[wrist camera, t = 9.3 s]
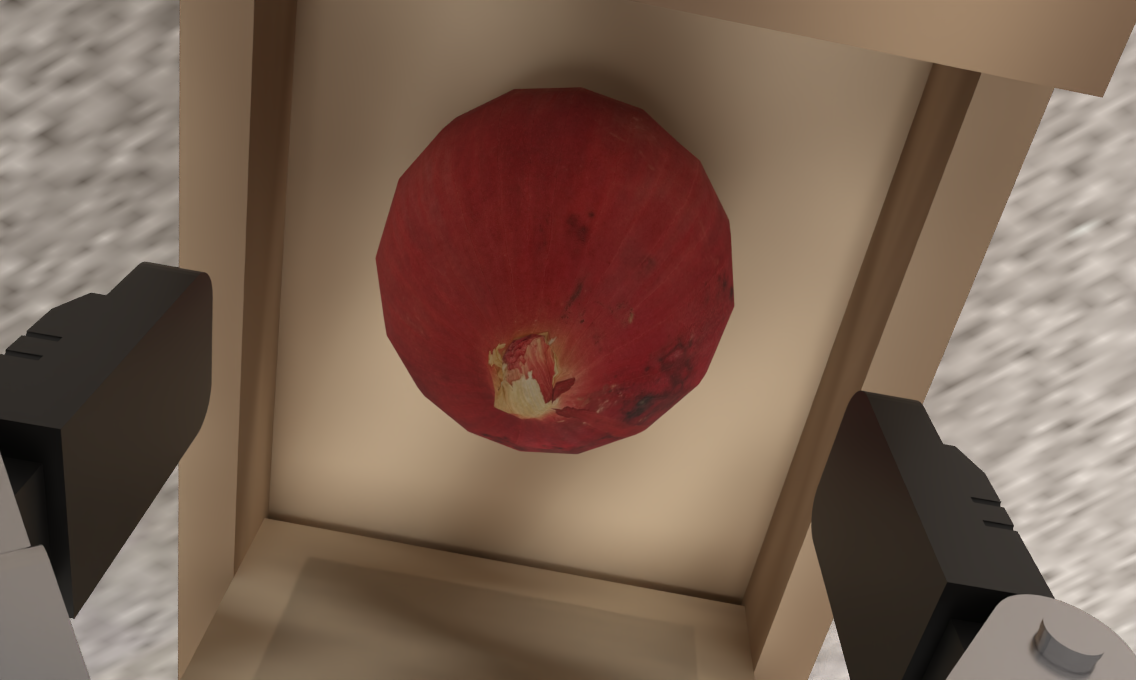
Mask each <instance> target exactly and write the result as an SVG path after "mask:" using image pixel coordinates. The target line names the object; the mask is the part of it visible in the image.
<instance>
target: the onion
mask: <svg viewBox="0 0 1136 680" xmlns="http://www.w3.org/2000/svg"><path fill="white" fill-rule="evenodd" d="M375 259H376V266H377V273H378V280H379V288H380V295H381V302H382V309H383V316H384V323H385V329H386V335H387V337H388V339H389V340H390V342H391V344H392V345H393V347H394V349H395V350H396V352H397V354H398V355H399V357H400V359H401V360H402V362H403V364H404V365H405V367H406V369H407V371H408V372H409V374H410V376H411V377H412V379H413V381H414V382H415V384H416V386H417V387H418V389H419V390H420V391H421V393H422V394H423V395H424V396H425V397H426V398H427V399H428V400H430V401H431V402H432V403H433V404H435V405H436V406H437V407H438V408H440V409H441V410H442V411H443V412H445V413H446V414H447V415H448V416H449V417H451V418H452V419H453V420H454V421H456V422H457V423H458V424H459V425H461V426H462V427H463V428H464V429H466V430H467V431H468V432H470V433H473V434H476V435H478V436H481V437H483V438H486V439H489V440H491V441H494V442H497V443H499V444H502V445H504V446H507V447H510V448H512V449H515V450H518V451H522V452H541V453H561V454H580V453H583V452H586V451H589V450H592V449H595V448H598V447H601V446H604V445H607V444H610V443H613V442H615V441H618V440H621V439H624V438H627V437H630V436H633V435H636V434H638V433H640V432H642V431H644V430H646V429H647V428H648V427H650V426H651V425H652V424H653V423H654V422H655V421H657V420H658V419H659V418H660V417H661V416H663V415H664V414H665V413H666V412H667V411H668V410H670V409H671V408H672V407H673V406H674V405H675V404H677V403H678V402H679V401H680V400H681V399H683V398H684V397H685V396H686V395H687V394H688V393H690V392H691V391H692V390H693V389H694V388H695V387H697V386H698V385H699V384H700V382H701V381H702V379H703V377H704V376H705V374H706V373H707V371H708V368H709V366H710V363H711V361H712V359H713V356H714V354H715V352H716V349H717V347H718V344H719V342H720V340H721V337H722V335H723V332H724V330H725V328H726V325H727V323H728V320H729V318H730V316H731V313H732V311H733V308H734V285H733V266H732V246H731V232H730V222H729V219H728V217H727V215H726V213H725V210H724V208H723V206H722V204H721V202H720V200H719V198H718V196H717V194H716V192H715V190H714V188H713V186H712V184H711V182H710V180H709V178H708V176H707V174H706V172H705V170H704V168H703V166H702V163H701V161H700V160H699V159H698V158H696V157H695V156H694V155H693V154H692V153H690V152H689V151H688V150H687V149H686V148H685V147H683V146H682V145H681V144H680V143H679V142H678V141H677V140H676V139H675V138H673V137H672V136H671V135H670V134H669V133H668V132H667V131H666V130H665V129H664V128H663V127H662V126H661V125H659V124H658V123H657V122H656V121H655V120H654V119H653V118H652V117H651V116H650V115H649V114H648V113H646V112H645V111H644V110H643V109H641V108H638V107H635V106H632V105H630V104H627V103H624V102H621V101H618V100H616V99H613V98H610V97H607V96H604V95H602V94H599V93H596V92H593V91H590V90H588V89H585V88H582V87H571V88H533V89H513V90H511V91H509V92H507V93H505V94H503V95H501V96H499V97H497V98H495V99H493V100H491V101H489V102H487V103H485V104H482V105H480V106H478V107H476V108H474V109H472V110H470V111H468V112H466V113H464V114H462V115H460V116H458V117H456V118H455V119H453V120H452V121H451V122H450V123H449V124H448V125H446V126H445V127H444V128H443V129H442V130H441V131H440V132H439V133H438V134H437V136H436V137H435V138H434V139H433V140H432V141H431V143H430V144H429V145H428V146H427V147H426V148H425V149H424V151H423V152H422V153H421V154H420V155H419V156H418V157H417V159H416V160H415V161H414V162H413V163H412V164H411V165H410V167H409V168H408V169H407V170H406V171H405V172H404V173H403V175H402V176H401V177H400V178H399V180H398V183H397V187H396V190H395V193H394V197H393V200H392V203H391V207H390V210H389V213H388V217H387V220H386V223H385V227H384V230H383V234H382V237H381V240H380V244H379V247H378V251H377V254H376V258H375Z"/></svg>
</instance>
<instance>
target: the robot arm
mask: <svg viewBox="0 0 1136 680" xmlns="http://www.w3.org/2000/svg"><path fill="white" fill-rule="evenodd" d="M212 319H213V289H212V282H211V279H210V276H209V275H208V274H207V273H206V272H200V271H195V270H189V269H184V268H178V267H172V266H167V265H161V264H155V263H150V262H142V263H140V264H139V265H138V266H137V267H136V268H135V269H134V270H133V271H131V272H130V273H129V274H128V275H127V276H126V277H125V278H124V279H123V280H122V281H121V282H120V283H119V284H118V285H117V286H116V287H115V288H114V289H113V290H112V291H111V292H109V293H108V294H107V295H101V294H95V293H89V294H87V295H84V296H82V297H79V298H77V299H74V300H72V301H70V302H67V303H65V304H62V305H60V306H57V307H55V308H53V309H51V310H50V311H49V312H48V313H46V314H45V315H44V316H43V317H42V318H41V319H40V320H39V321H37V322H36V323H35V324H34V325H33V326H32V327H31V328H30V329H28V330H27V334H26V336H21V337H19V338H18V339H17V340H16V341H15V342H14V343H13V344H12V345H10V346H9V347H8V348H7V349H6V353H5V355H3V354H0V680H90V677H89V674H88V671H87V668H86V665H85V662H84V659H83V656H82V653H81V650H80V648H79V645H78V642H77V639H76V636H75V633H74V630H73V627H72V624H71V621H70V618H73V619H75V617H76V616H77V614H78V613H79V611H80V610H81V608H82V607H83V605H84V604H85V602H86V601H87V599H88V598H89V596H90V595H91V593H92V592H93V590H94V589H95V587H96V586H97V584H98V583H99V581H100V580H101V578H102V577H103V575H104V574H105V572H106V571H107V569H108V568H109V566H110V565H111V563H112V562H113V560H114V559H115V557H116V556H117V554H118V553H119V551H120V550H121V548H122V547H123V545H124V544H125V542H126V541H127V539H128V538H129V536H130V535H131V533H132V532H133V530H134V529H135V527H136V526H137V524H138V523H139V521H140V520H141V518H142V517H143V515H144V514H145V512H146V511H147V509H148V508H149V506H150V505H151V503H152V502H153V500H154V499H155V497H156V496H157V494H158V493H159V491H160V490H161V488H162V487H163V485H164V484H165V482H166V481H167V479H168V478H169V476H170V475H171V473H172V472H173V470H174V469H175V467H176V466H177V464H178V463H179V461H180V460H181V458H182V457H183V455H184V454H185V452H186V451H187V449H188V448H189V446H190V445H191V443H192V442H193V440H194V439H195V437H196V436H197V434H198V433H199V431H200V429H201V427H202V424H203V422H204V419H205V416H206V413H207V409H208V405H209V401H210V395H211V385H212ZM1000 503H1001V501H1000V499H999V498H998V496H997V494H996V492H995V490H994V489H993V487H992V485H991V483H990V482H989V480H988V478H987V476H986V474H985V473H984V472H983V471H982V470H981V469H979V468H978V467H977V466H976V465H975V464H974V463H973V462H972V461H971V460H970V459H969V458H967V457H966V456H965V455H964V454H963V453H962V452H961V451H960V450H959V449H958V448H956V447H955V446H951V445H945V444H943V443H942V441H941V439H940V437H939V435H938V433H937V431H936V429H935V427H934V426H933V424H932V422H931V420H930V418H929V416H928V414H927V412H926V410H925V408H924V406H923V405H922V403H921V402H919V401H917V400H912V399H907V398H901V397H895V396H890V395H884V394H879V393H873V392H867V391H862V390H860V391H857V392H856V393H855V394H854V395H853V396H852V398H851V399H850V401H849V403H848V405H847V408H846V410H845V413H844V416H843V419H842V421H841V424H840V427H839V430H838V432H837V435H836V438H835V441H834V443H833V446H832V449H831V451H830V454H829V457H828V460H827V462H826V465H825V468H824V471H823V473H822V476H821V479H820V482H819V484H818V487H817V490H816V493H815V497H814V502H813V508H812V517H811V532H812V539H813V544H814V547H815V551H816V555H817V558H818V562H819V566H820V569H821V573H822V577H823V580H824V584H825V588H826V592H827V595H828V599H829V603H830V606H831V610H832V614H833V617H834V621H835V625H836V629H837V632H838V636H839V640H840V643H841V647H842V651H843V654H844V658H845V662H846V665H847V669H848V673H849V677H850V680H1136V655H1135V654H1134V653H1133V651H1132V650H1131V649H1130V647H1129V646H1128V645H1127V644H1126V643H1125V642H1124V641H1123V640H1122V639H1121V638H1120V637H1119V636H1118V635H1117V634H1116V633H1115V632H1114V631H1113V630H1111V629H1110V628H1109V627H1108V626H1106V625H1105V624H1104V623H1102V622H1101V621H1099V620H1098V619H1096V618H1095V617H1093V616H1091V615H1090V614H1088V613H1086V612H1085V611H1083V610H1081V609H1079V608H1076V607H1074V606H1072V605H1070V604H1067V603H1065V602H1062V601H1059V600H1056V599H1055V598H1054V596H1053V595H1052V593H1051V591H1050V589H1049V587H1048V586H1047V584H1046V582H1045V580H1044V578H1043V577H1042V575H1041V573H1040V571H1039V569H1038V568H1037V566H1036V564H1035V562H1034V560H1033V559H1032V557H1031V555H1030V553H1029V551H1028V550H1027V548H1026V546H1025V544H1024V543H1023V541H1022V539H1021V537H1020V535H1019V534H1018V532H1017V531H1013V527H1014V525H1013V523H1012V521H1011V519H1010V517H1009V516H1008V514H1007V512H1006V510H1005V508H1003V507H1000Z"/></svg>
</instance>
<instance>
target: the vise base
mask: <svg viewBox="0 0 1136 680" xmlns="http://www.w3.org/2000/svg"><path fill="white" fill-rule="evenodd" d="M1135 23H1136V0H180V97H179V268H184V269H189V270H195V271H200V272H206V273H207V274H208V275H209V276H210V279H211V282H212V289H213V319H212V385H211V395H210V401H209V405H208V409H207V413H206V416H205V419H204V422H203V424H202V427H201V429H200V431H199V433H198V434H197V436H196V437H195V439H194V440H193V442H192V443H191V445H190V446H189V448H188V449H187V451H186V452H185V454H184V455H183V457H182V458H181V460H180V461H179V517H178V680H181V678H182V676H183V674H184V672H185V670H186V668H187V666H188V664H189V662H190V661H191V659H192V657H193V655H194V653H195V651H196V649H197V647H198V645H199V643H200V641H201V639H202V638H203V636H204V634H205V632H206V630H207V628H208V626H209V624H210V622H211V620H212V618H213V616H214V614H215V613H216V611H217V609H218V607H219V605H220V603H221V601H222V599H223V597H224V595H225V593H226V591H227V589H228V588H229V586H230V584H231V582H232V580H233V578H234V576H235V574H236V572H237V570H238V568H239V566H240V564H241V563H242V561H243V559H244V557H245V555H246V553H247V551H248V549H249V547H250V545H251V543H252V541H253V539H254V538H255V536H256V534H257V532H258V530H259V528H260V526H261V524H262V522H263V520H264V518H267V519H272V520H278V521H283V522H289V523H294V524H300V525H305V526H311V527H316V528H321V529H327V530H332V531H338V532H343V533H349V534H354V535H360V536H365V537H370V538H376V539H381V540H387V541H392V542H398V543H403V544H409V545H414V546H419V547H425V548H430V549H436V550H441V551H447V552H452V553H457V554H463V555H468V556H474V557H479V558H485V559H490V560H496V561H501V562H506V563H512V564H517V565H523V566H528V567H534V568H539V569H545V570H550V571H555V572H561V573H566V574H572V575H577V576H583V577H588V578H594V579H599V580H604V581H610V582H615V583H621V584H626V585H632V586H637V587H643V588H648V589H653V590H659V591H664V592H670V593H675V594H681V595H686V596H692V597H697V598H702V599H708V600H713V601H719V602H724V603H730V604H735V605H741V606H745V612H746V620H747V627H748V634H749V641H750V648H751V656H752V663H753V670H754V677H755V680H808V678H809V675H810V673H811V671H812V668H813V666H814V663H815V661H816V659H817V656H818V654H819V651H820V649H821V647H822V644H823V642H824V639H825V637H826V635H827V632H828V630H829V627H830V625H831V623H832V620H833V618H834V617H833V614H832V610H831V606H830V603H829V599H828V595H827V592H826V588H825V584H824V580H823V577H822V573H821V569H820V566H819V562H818V558H817V555H816V551H815V547H814V544H813V539H812V532H811V517H812V508H813V502H814V497H815V493H816V490H817V487H818V484H819V482H820V479H821V476H822V473H823V471H824V468H825V465H826V462H827V460H828V457H829V454H830V451H831V449H832V446H833V443H834V441H835V438H836V435H837V432H838V430H839V427H840V424H841V421H842V419H843V416H844V413H845V410H846V408H847V405H848V403H849V401H850V399H851V398H852V396H853V395H854V394H855V393H856V392H857V391H860V390H862V391H867V392H873V393H879V394H884V395H890V396H895V397H901V398H907V399H912V400H917V401H919V402H921V403H922V404H923V402H924V400H925V397H926V395H927V392H928V390H929V388H930V385H931V383H932V380H933V378H934V376H935V373H936V371H937V368H938V366H939V364H940V361H941V359H942V356H943V354H944V352H945V349H946V347H947V344H948V342H949V340H950V337H951V335H952V332H953V330H954V328H955V325H956V323H957V320H958V318H959V316H960V313H961V311H962V308H963V306H964V304H965V301H966V299H967V296H968V294H969V292H970V289H971V287H972V284H973V282H974V280H975V277H976V275H977V272H978V270H979V268H980V265H981V263H982V260H983V258H984V256H985V253H986V251H987V248H988V246H989V244H990V241H991V239H992V236H993V234H994V232H995V229H996V227H997V224H998V222H999V220H1000V217H1001V215H1002V212H1003V210H1004V208H1005V205H1006V203H1007V200H1008V198H1009V196H1010V193H1011V191H1012V188H1013V186H1014V184H1015V181H1016V179H1017V176H1018V174H1019V172H1020V169H1021V167H1022V164H1023V162H1024V160H1025V157H1026V155H1027V152H1028V150H1029V148H1030V145H1031V143H1032V141H1033V138H1034V136H1035V133H1036V131H1037V129H1038V126H1039V124H1040V121H1041V119H1042V117H1043V114H1044V112H1045V109H1046V107H1047V105H1048V102H1049V100H1050V97H1051V95H1052V93H1053V90H1054V88H1059V89H1064V90H1069V91H1074V92H1078V93H1083V94H1088V95H1093V96H1098V97H1103V95H1104V93H1105V91H1106V89H1107V86H1108V84H1109V82H1110V80H1111V77H1112V75H1113V73H1114V70H1115V68H1116V66H1117V64H1118V61H1119V59H1120V57H1121V55H1122V52H1123V50H1124V48H1125V46H1126V43H1127V41H1128V39H1129V37H1130V34H1131V32H1132V30H1133V27H1134V25H1135ZM571 87H582V88H585V89H588V90H590V91H593V92H596V93H599V94H602V95H604V96H607V97H610V98H613V99H616V100H618V101H621V102H624V103H627V104H630V105H632V106H635V107H638V108H641V109H643V110H644V111H645V112H646V113H648V114H649V115H650V116H651V117H652V118H653V119H654V120H655V121H656V122H657V123H658V124H659V125H661V126H662V127H663V128H664V129H665V130H666V131H667V132H668V133H669V134H670V135H671V136H672V137H673V138H675V139H676V140H677V141H678V142H679V143H680V144H681V145H682V146H683V147H685V148H686V149H687V150H688V151H689V152H690V153H692V154H693V155H694V156H695V157H696V158H698V159H699V160H700V161H701V163H702V166H703V168H704V170H705V172H706V174H707V176H708V178H709V180H710V182H711V184H712V186H713V188H714V190H715V192H716V194H717V196H718V198H719V200H720V202H721V204H722V206H723V208H724V210H725V213H726V215H727V217H728V219H729V222H730V232H731V246H732V266H733V285H734V308H733V311H732V313H731V316H730V318H729V320H728V323H727V325H726V328H725V330H724V332H723V335H722V337H721V340H720V342H719V344H718V347H717V349H716V352H715V354H714V356H713V359H712V361H711V363H710V366H709V368H708V371H707V373H706V374H705V376H704V377H703V379H702V381H701V382H700V384H699V385H698V386H697V387H695V388H694V389H693V390H692V391H691V392H690V393H688V394H687V395H686V396H685V397H684V398H683V399H681V400H680V401H679V402H678V403H677V404H675V405H674V406H673V407H672V408H671V409H670V410H668V411H667V412H666V413H665V414H664V415H663V416H661V417H660V418H659V419H658V420H657V421H655V422H654V423H653V424H652V425H651V426H650V427H648V428H647V429H646V430H644V431H642V432H640V433H638V434H636V435H633V436H630V437H627V438H624V439H621V440H618V441H615V442H613V443H610V444H607V445H604V446H601V447H598V448H595V449H592V450H589V451H586V452H583V453H580V454H561V453H541V452H522V451H518V450H515V449H512V448H510V447H507V446H504V445H502V444H499V443H497V442H494V441H491V440H489V439H486V438H483V437H481V436H478V435H476V434H473V433H470V432H468V431H467V430H466V429H464V428H463V427H462V426H461V425H459V424H458V423H457V422H456V421H454V420H453V419H452V418H451V417H449V416H448V415H447V414H446V413H445V412H443V411H442V410H441V409H440V408H438V407H437V406H436V405H435V404H433V403H432V402H431V401H430V400H428V399H427V398H426V397H425V396H424V395H423V394H422V393H421V391H420V390H419V389H418V387H417V386H416V384H415V382H414V381H413V379H412V377H411V376H410V374H409V372H408V371H407V369H406V367H405V365H404V364H403V362H402V360H401V359H400V357H399V355H398V354H397V352H396V350H395V349H394V347H393V345H392V344H391V342H390V340H389V339H388V337H387V335H386V329H385V323H384V316H383V309H382V302H381V295H380V288H379V280H378V273H377V266H376V259H375V258H376V254H377V251H378V247H379V244H380V240H381V237H382V234H383V230H384V227H385V223H386V220H387V217H388V213H389V210H390V207H391V203H392V200H393V197H394V193H395V190H396V187H397V183H398V180H399V178H400V177H401V176H402V175H403V173H404V172H405V171H406V170H407V169H408V168H409V167H410V165H411V164H412V163H413V162H414V161H415V160H416V159H417V157H418V156H419V155H420V154H421V153H422V152H423V151H424V149H425V148H426V147H427V146H428V145H429V144H430V143H431V141H432V140H433V139H434V138H435V137H436V136H437V134H438V133H439V132H440V131H441V130H442V129H443V128H444V127H445V126H446V125H448V124H449V123H450V122H451V121H452V120H453V119H455V118H456V117H458V116H460V115H462V114H464V113H466V112H468V111H470V110H472V109H474V108H476V107H478V106H480V105H482V104H485V103H487V102H489V101H491V100H493V99H495V98H497V97H499V96H501V95H503V94H505V93H507V92H509V91H511V90H513V89H533V88H571Z"/></svg>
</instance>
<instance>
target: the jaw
mask: <svg viewBox="0 0 1136 680" xmlns="http://www.w3.org/2000/svg"><path fill="white" fill-rule="evenodd" d="M181 680H755V677H754V670H753V663H752V656H751V648H750V641H749V634H748V627H747V620H746V612H745V606H741V605H735V604H730V603H724V602H719V601H713V600H708V599H702V598H697V597H692V596H686V595H681V594H675V593H670V592H664V591H659V590H653V589H648V588H643V587H637V586H632V585H626V584H621V583H615V582H610V581H604V580H599V579H594V578H588V577H583V576H577V575H572V574H566V573H561V572H555V571H550V570H545V569H539V568H534V567H528V566H523V565H517V564H512V563H506V562H501V561H496V560H490V559H485V558H479V557H474V556H468V555H463V554H457V553H452V552H447V551H441V550H436V549H430V548H425V547H419V546H414V545H409V544H403V543H398V542H392V541H387V540H381V539H376V538H370V537H365V536H360V535H354V534H349V533H343V532H338V531H332V530H327V529H321V528H316V527H311V526H305V525H300V524H294V523H289V522H283V521H278V520H272V519H267V518H264V520H263V522H262V524H261V526H260V528H259V530H258V532H257V534H256V536H255V538H254V539H253V541H252V543H251V545H250V547H249V549H248V551H247V553H246V555H245V557H244V559H243V561H242V563H241V564H240V566H239V568H238V570H237V572H236V574H235V576H234V578H233V580H232V582H231V584H230V586H229V588H228V589H227V591H226V593H225V595H224V597H223V599H222V601H221V603H220V605H219V607H218V609H217V611H216V613H215V614H214V616H213V618H212V620H211V622H210V624H209V626H208V628H207V630H206V632H205V634H204V636H203V638H202V639H201V641H200V643H199V645H198V647H197V649H196V651H195V653H194V655H193V657H192V659H191V661H190V662H189V664H188V666H187V668H186V670H185V672H184V674H183V676H182V678H181Z"/></svg>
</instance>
